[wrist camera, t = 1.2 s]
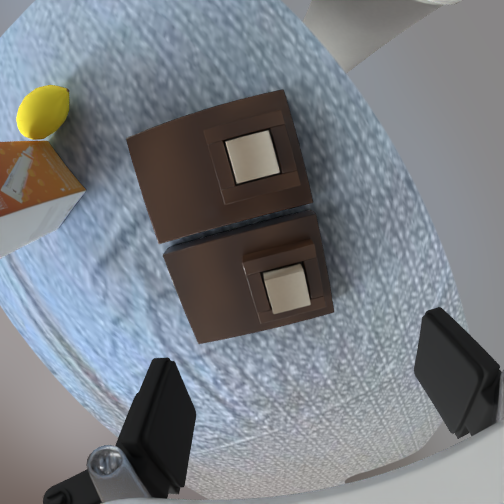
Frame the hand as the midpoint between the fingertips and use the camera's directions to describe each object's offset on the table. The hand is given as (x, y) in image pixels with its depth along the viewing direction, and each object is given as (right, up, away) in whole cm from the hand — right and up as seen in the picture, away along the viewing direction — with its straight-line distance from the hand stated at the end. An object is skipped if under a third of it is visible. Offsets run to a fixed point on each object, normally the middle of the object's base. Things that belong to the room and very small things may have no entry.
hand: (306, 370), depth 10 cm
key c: (-2, +12, +12) cm, 17 cm away
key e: (+1, +1, +16) cm, 16 cm away
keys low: (-5, +12, +16) cm, 20 cm away
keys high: (-2, +2, +19) cm, 19 cm away
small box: (-23, +11, +16) cm, 31 cm away
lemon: (-22, +19, +14) cm, 32 cm away
